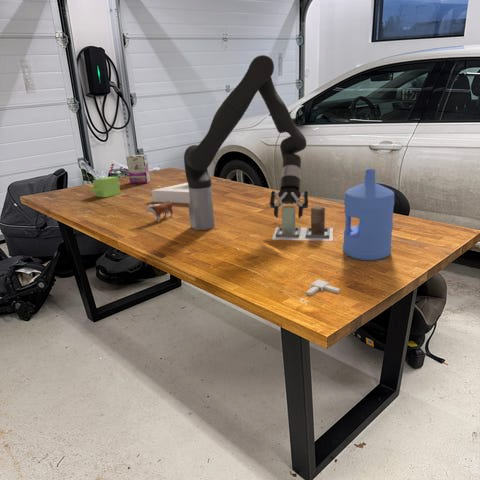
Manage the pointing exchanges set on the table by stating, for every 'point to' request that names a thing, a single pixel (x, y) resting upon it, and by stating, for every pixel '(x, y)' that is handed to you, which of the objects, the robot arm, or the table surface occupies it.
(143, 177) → the candy bar box
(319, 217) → the walnut column
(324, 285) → the corner connector
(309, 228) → the base plate
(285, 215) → the sage column
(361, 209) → the water jug
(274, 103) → the robot arm
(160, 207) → the bull figurine
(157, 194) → the triangle block
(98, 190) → the gearbox
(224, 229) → the table surface
